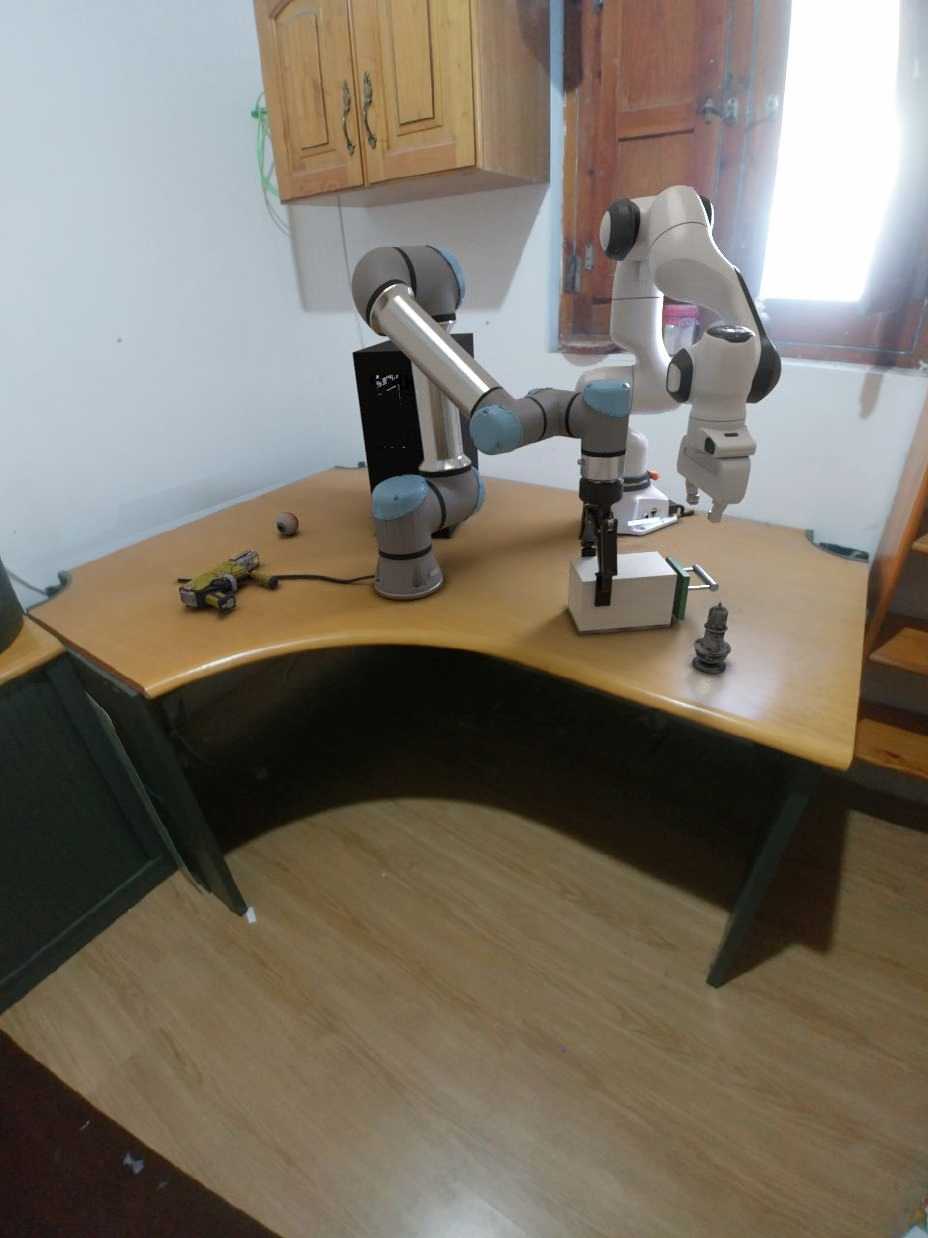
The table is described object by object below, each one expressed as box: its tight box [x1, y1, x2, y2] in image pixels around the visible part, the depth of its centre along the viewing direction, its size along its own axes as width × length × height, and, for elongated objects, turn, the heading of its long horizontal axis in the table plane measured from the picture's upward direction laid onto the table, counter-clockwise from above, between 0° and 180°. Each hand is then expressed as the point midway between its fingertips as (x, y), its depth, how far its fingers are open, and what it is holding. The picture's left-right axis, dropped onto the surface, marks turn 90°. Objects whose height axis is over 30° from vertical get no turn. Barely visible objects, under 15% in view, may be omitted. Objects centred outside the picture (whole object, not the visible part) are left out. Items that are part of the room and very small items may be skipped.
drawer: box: [665, 555, 720, 622], centre depth 115 cm, size 22×9×9 cm, turn 94°
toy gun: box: [178, 549, 279, 615], centre depth 136 cm, size 5×24×15 cm
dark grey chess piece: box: [692, 601, 732, 674], centre depth 99 cm, size 6×6×12 cm
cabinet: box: [567, 551, 677, 635], centre depth 115 cm, size 17×10×11 cm, turn 94°
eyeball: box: [275, 511, 300, 536], centre depth 163 cm, size 6×6×6 cm
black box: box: [351, 332, 480, 539], centre depth 164 cm, size 38×20×45 cm, turn 167°
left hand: (594, 591), depth 114 cm, fingers closed on cabinet, 10 cm apart
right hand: (702, 512), depth 108 cm, fingers open, 8 cm apart
